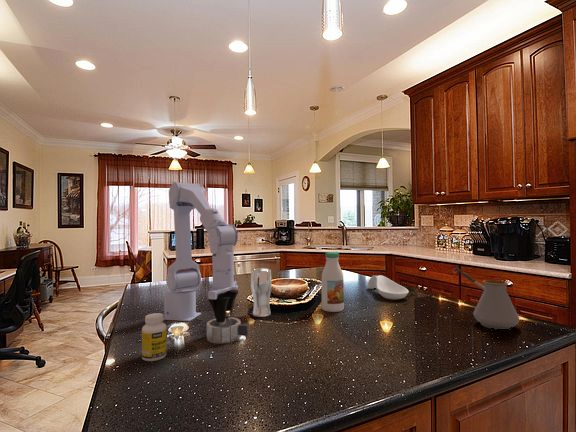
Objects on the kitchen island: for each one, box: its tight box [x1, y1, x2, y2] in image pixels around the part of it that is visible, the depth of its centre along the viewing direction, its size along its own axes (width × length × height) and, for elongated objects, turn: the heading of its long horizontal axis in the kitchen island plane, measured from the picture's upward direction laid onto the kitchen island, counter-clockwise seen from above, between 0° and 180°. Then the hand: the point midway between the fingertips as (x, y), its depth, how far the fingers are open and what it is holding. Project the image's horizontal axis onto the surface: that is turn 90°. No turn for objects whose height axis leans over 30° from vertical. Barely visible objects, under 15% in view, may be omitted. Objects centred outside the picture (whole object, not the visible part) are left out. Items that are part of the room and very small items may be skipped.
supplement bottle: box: [141, 312, 168, 362], centre depth 77 cm, size 5×5×10 cm
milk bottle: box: [321, 251, 345, 313], centre depth 115 cm, size 8×8×20 cm
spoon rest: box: [367, 274, 410, 301], centre depth 136 cm, size 24×12×7 cm, turn 13°
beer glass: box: [250, 267, 273, 318], centre depth 110 cm, size 7×7×15 cm
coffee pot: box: [452, 267, 520, 330], centre depth 101 cm, size 21×12×15 cm, turn 16°
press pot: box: [206, 316, 249, 344], centre depth 89 cm, size 11×9×4 cm
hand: (223, 319), depth 89 cm, fingers closed on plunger, 4 cm apart
